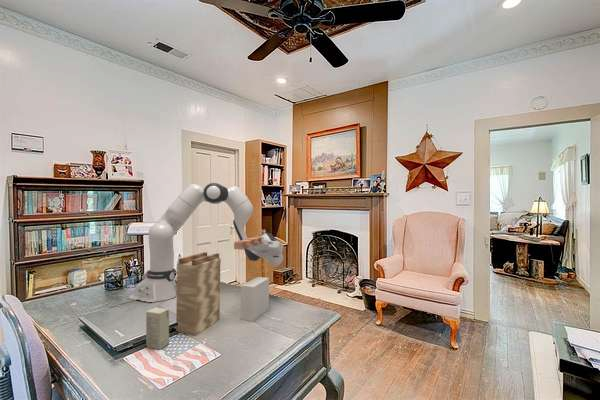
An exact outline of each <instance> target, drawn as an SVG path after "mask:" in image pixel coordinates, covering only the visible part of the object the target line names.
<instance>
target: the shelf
mask: <svg viewBox="0 0 600 400" xmlns="http://www.w3.org/2000/svg"><path fill="white" fill-rule="evenodd" d="M269 299H270V277H265V276H264V277H262V276H257V277H255V278H253V279H250V280H249V281H247V282H245V283H243V284H241V285H240V316H239V317H240V321H245V322H246V321H247V322H252V323H253V322H255V321H256V320H257V319H259V318H260V317H261V316H263V314H264V313H265V312H267V311H268V310H269V309H270V308H269V307H270V305H269V303H270V300H269Z"/></svg>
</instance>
